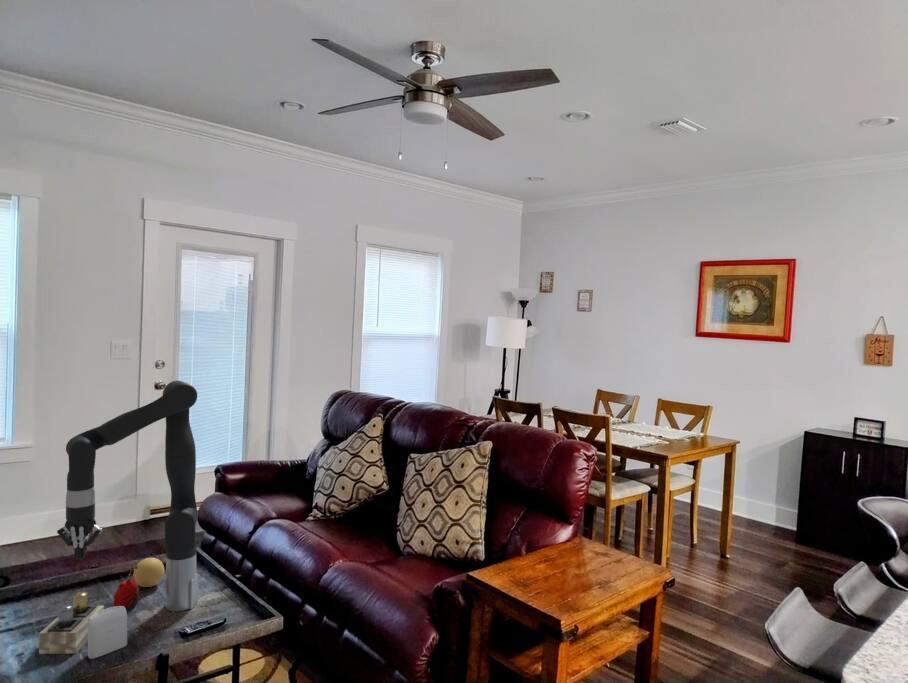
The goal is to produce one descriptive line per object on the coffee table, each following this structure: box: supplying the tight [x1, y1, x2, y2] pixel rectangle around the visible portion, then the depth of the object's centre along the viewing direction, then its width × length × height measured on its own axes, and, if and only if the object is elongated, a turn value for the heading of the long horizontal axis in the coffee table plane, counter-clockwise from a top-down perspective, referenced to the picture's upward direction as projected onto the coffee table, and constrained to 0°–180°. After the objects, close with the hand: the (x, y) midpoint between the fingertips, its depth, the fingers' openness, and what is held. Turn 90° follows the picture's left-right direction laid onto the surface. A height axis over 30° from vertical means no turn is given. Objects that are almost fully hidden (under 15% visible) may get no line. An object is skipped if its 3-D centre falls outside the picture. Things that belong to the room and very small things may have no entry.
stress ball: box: [132, 557, 165, 588], centre depth 214 cm, size 10×10×10 cm
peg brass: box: [72, 591, 88, 614], centre depth 184 cm, size 4×4×6 cm
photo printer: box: [87, 606, 128, 660], centre depth 174 cm, size 10×4×12 cm, turn 140°
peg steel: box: [57, 603, 73, 628], centre depth 176 cm, size 4×4×6 cm
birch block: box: [38, 604, 105, 655], centre depth 180 cm, size 10×16×7 cm, turn 5°
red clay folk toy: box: [112, 563, 140, 611], centre depth 199 cm, size 8×7×15 cm
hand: (80, 558), depth 183 cm, fingers closed
